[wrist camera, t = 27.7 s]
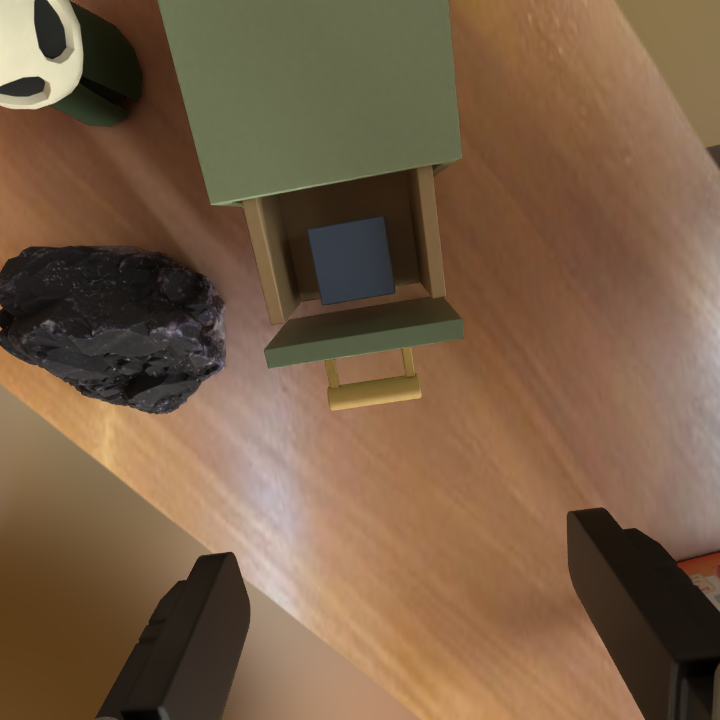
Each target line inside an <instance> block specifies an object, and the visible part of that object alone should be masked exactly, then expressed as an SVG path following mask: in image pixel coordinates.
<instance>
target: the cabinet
mask: <svg viewBox="0 0 720 720" xmlns="http://www.w3.org/2000/svg"><path fill="white" fill-rule="evenodd" d="M157 1H158V5H159V9H160V13H161V17H162V20H163V24H164V28H165V32H166V36H167V40H168V44H169V47H170V51H171V55H172V59H173V63H174V67H175V71H176V74H177V78H178V82H179V86H180V90H181V94H182V98H183V101H184V105H185V109H186V113H187V117H188V121H189V125H190V128H191V132H192V136H193V140H194V144H195V148H196V151H197V155H198V159H199V163H200V167H201V171H202V175H203V178H204V182H205V186H206V190H207V194H208V198H209V202H210V204H211V205H221V206H234V207H243V205H242V201H241V200H247V199H252V198H258V197H263V196H268V195H274V194H279V193H285V192H290V191H295V190H301V189H306V188H311V187H317V186H322V185H328V184H333V183H338V182H344V181H349V180H354V179H360V178H365V177H371V176H376V175H381V174H387V173H392V172H397V171H403V170H408V169H414V168H419V167H424V166H430V165H432V169H433V176H435V175H436V174H438V173H439V172H441V171H442V170H444V169H445V168H447V167H448V166H450V165H451V164H453V163H454V162H456V161H457V160H459V159H461V158H462V150H461V139H460V127H459V116H458V105H457V94H456V83H455V72H454V61H453V50H452V38H451V27H450V16H449V5H448V0H157Z"/></svg>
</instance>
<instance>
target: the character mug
mask: <svg viewBox="0 0 720 720" xmlns="http://www.w3.org/2000/svg"><path fill="white" fill-rule="evenodd" d="M141 80H142V73H141V70H140V67H139V63H138V60H137V57H136V54H135V50H134V48H133V47H132V46H131V45H130V43H129V42H128V41H127V40H126V38H125V37H124V36H123V35H122V33H121V32H120V31H119V30H118V29H117V27H116V26H114V25H113V24H111V23H109V22H107V21H106V20H104V19H102V18H100V17H99V16H97V15H95V14H93V13H91V12H90V11H88V10H86V9H84V8H82V7H80V6H79V5H77V4H75V3H73V2H70V1H69V0H0V106H3V107H6V108H10V109H34V110H35V109H38V108H41V107H44V106H47V105H50V106H52V107H53V108H55V109H57V110H59V111H61V112H63V113H65V114H67V115H69V116H70V117H73V118H75V119H77V120H79V121H81V122H83V123H85V124H87V125H89V126H113V125H115V124H117V123H119V122H121V121H123V120H125V119H127V118H128V117H129V115H130V113H129V112H127V111H125V110H124V109H122V108H120V107H118V106H117V105H119V104H120V103H121V102H122V101H123V99H124V96H127V97H129V98H131V99H133V100H135V101H138V100H139V98H140V95H141Z"/></svg>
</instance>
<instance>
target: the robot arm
mask: <svg viewBox="0 0 720 720" xmlns="http://www.w3.org/2000/svg"><path fill="white" fill-rule="evenodd" d="M567 544H568V567H569V573H570V577H571V580H572V583H573V586H574V589H575V591H576V593H577V595H578V597H579V599H580V601H581V603H582V604H583V606H584V608H585V610H586V612H587V614H588V615H589V617H590V619H591V621H592V623H593V625H594V626H595V628H596V630H597V632H598V634H599V636H600V637H601V639H602V641H603V643H604V645H605V647H606V648H607V650H608V652H609V654H610V656H611V658H612V659H613V661H614V663H615V665H616V667H617V669H618V670H619V672H620V674H621V676H622V678H623V680H624V681H625V683H626V685H627V687H628V689H629V691H630V693H631V694H632V696H633V698H634V700H635V702H636V704H637V705H638V707H639V709H640V711H641V713H642V715H643V716H644V718H645V720H720V611H719V610H718V609H717V608H716V607H715V606H714V605H713V603H712V602H711V601H710V600H709V599H708V598H707V597H706V595H705V594H704V593H703V592H702V591H701V590H700V589H699V588H698V586H697V585H694V584H693V582H692V580H691V579H690V577H689V576H688V575H687V574H686V573H685V572H684V571H683V569H682V568H679V567H678V565H677V563H676V562H675V560H674V559H673V558H672V557H671V556H670V555H669V554H668V552H667V551H666V550H665V549H664V548H663V547H662V546H661V545H660V544H659V543H658V542H656V541H655V540H653V539H652V538H650V537H648V536H647V535H645V534H644V533H642V532H641V531H639V530H637V529H636V528H632V529H622V528H621V527H620V526H619V525H618V523H617V522H616V521H615V520H614V518H613V517H612V516H611V515H610V513H609V512H608V511H607V510H606V509H605V508H602V507H601V508H593V509H584V510H576V511H569V512H568V514H567ZM249 624H250V602H249V598H248V594H247V591H246V588H245V585H244V582H243V578H242V575H241V572H240V569H239V566H238V563H237V559H236V557H235V555H234V554H233V553H232V552H225V553H217V554H209V555H202V556H200V557H199V558H198V559H197V561H196V563H195V565H194V567H193V569H192V571H191V572H190V574H189V576H188V578H187V580H183V581H178V582H177V583H176V584H175V585H174V586H173V587H172V588H171V589H170V591H169V592H168V593H167V594H166V595H165V596H164V597H163V598H162V599H161V600H160V602H159V604H158V605H157V607H156V609H155V611H154V613H153V614H152V616H151V618H150V620H149V625H147V626H146V627H145V629H144V631H143V632H142V635H141V636H140V638H139V643H138V644H136V645H135V647H134V649H133V651H132V653H131V654H130V656H129V658H128V660H127V661H126V663H125V665H124V667H123V669H122V671H121V672H120V674H119V676H118V678H117V680H116V682H115V683H114V685H113V687H112V689H111V690H110V692H109V694H108V696H107V698H106V699H105V701H104V703H103V705H102V707H101V709H100V711H99V712H98V714H97V716H96V717H95V719H93V720H221V719H222V716H223V712H224V709H225V706H226V702H227V699H228V695H229V692H230V689H231V686H232V682H233V679H234V676H235V672H236V669H237V665H238V662H239V659H240V655H241V652H242V649H243V645H244V642H245V639H246V635H247V632H248V628H249Z"/></svg>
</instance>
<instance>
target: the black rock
mask: <svg viewBox="0 0 720 720" xmlns="http://www.w3.org/2000/svg"><path fill="white" fill-rule="evenodd" d="M0 305H1V306H2V307H3V309H1V310H0V327H1V328H2V330H1V331H0V346H2V347H3V348H4V349H5V350H6V351H8V352H9V353H10V354H12V355H14V356H15V357H17V358H19V359H21V360H23V361H25V362H27V363H29V364H32V365H38V366H39V367H41V368H45V369H46V370H48V371H49V372H50V373H52V374H53V375H55V376H56V377H59V378H60V379H62V380H63V381H64V382H69V384H70V385H71V386H73V385H74V387H75V388H76V390H78V391H79V392H81V394H82V395H84V396H88V397H90V398H96V399H100V400H101V401H106V402H109V403H111V404H115V405H123V406H127V405H129V406H130V407H131V408H136V409H138V410H140V411H144V412H148V413H150V414H151V413H155V414H165V413H169V412H170V413H171V412H172V411H174V410H176V409H178V408H179V406H180V405H181V404H183V403H185V402H186V401H187V398H188V397H190V396H191V395H192V394H193V393H195V392H196V390H197V389H198V387H199V386H200V384H201V383H202V382H203V381H205V380H207V379H208V378H210V377H213V376H214V375H216V374H218V373H219V372H221V371H222V370H224V369H225V368H226V365H225V356H226V350H225V343H224V338H225V329H224V325H223V319H224V317H223V312H224V310H225V309H226V307H225V302H224V301H223V300H222V299H221V298H220V296H219V293H218V292H217V291H216V290H215V288H214V287H213V286H212V283H211V281H210V280H209V279H208V278H207V277H206V276H204V275H201V274H199V273H196V272H194V271H190V270H189V268H188V267H187V266H185V265H184V264H182V263H180V262H179V261H177V260H176V259H173V258H170V257H168V256H167V255H166V254H164V253H161V252H145V251H143V250H141V249H138V248H136V247H133V246H76V247H74V246H68V247H62V248H57V247H29V248H27V249H25V250H23V251H22V252H21V253H20V255H19V256H18V257H15V258H11V259H8V261H7V262H6V263H5V265H4V267H3V269H2V270H1V272H0Z"/></svg>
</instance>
